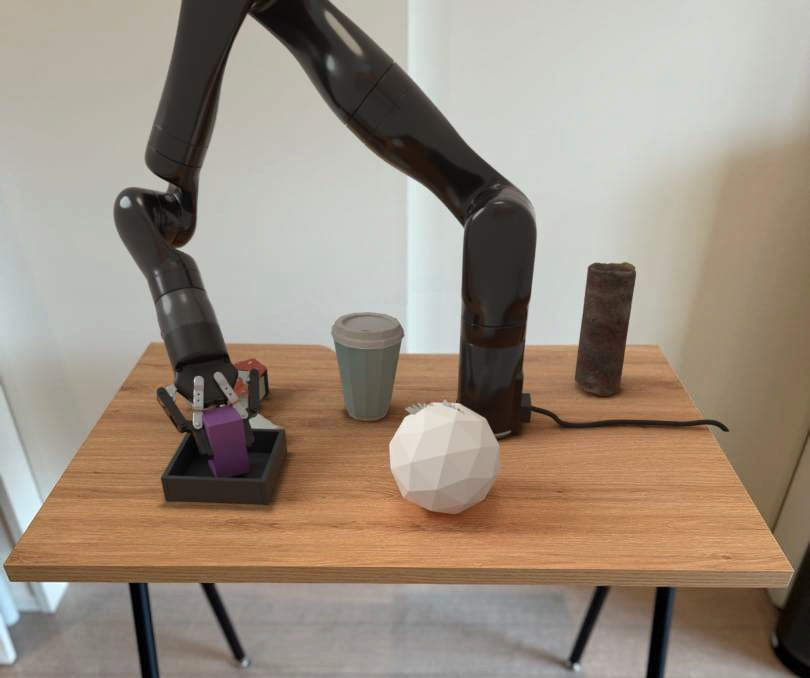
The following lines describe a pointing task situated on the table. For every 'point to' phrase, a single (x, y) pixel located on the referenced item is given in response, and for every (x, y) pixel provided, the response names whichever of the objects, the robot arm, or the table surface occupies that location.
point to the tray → (198, 483)
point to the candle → (604, 327)
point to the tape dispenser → (242, 392)
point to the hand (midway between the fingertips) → (229, 453)
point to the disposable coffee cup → (367, 361)
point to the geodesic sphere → (444, 457)
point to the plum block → (226, 441)
